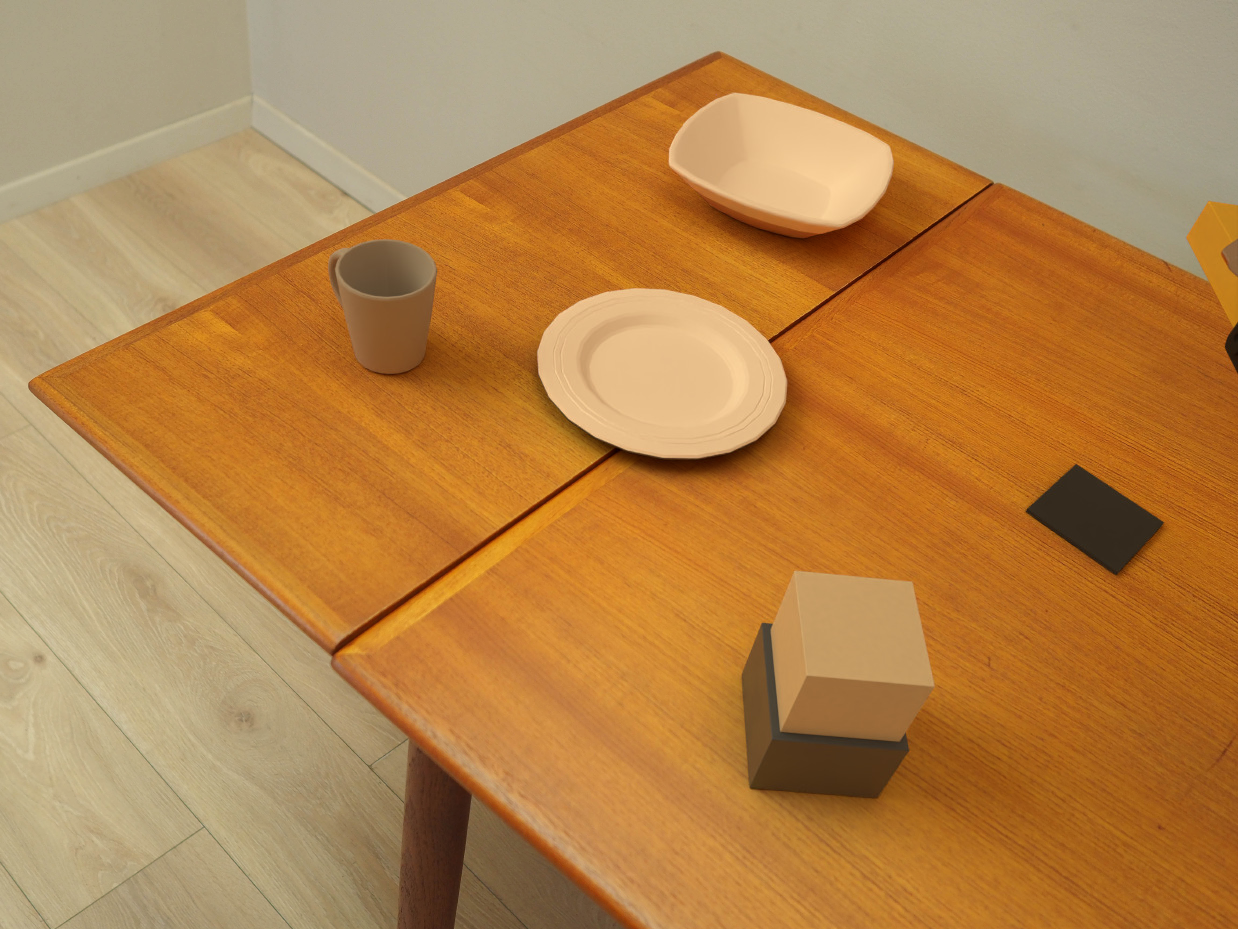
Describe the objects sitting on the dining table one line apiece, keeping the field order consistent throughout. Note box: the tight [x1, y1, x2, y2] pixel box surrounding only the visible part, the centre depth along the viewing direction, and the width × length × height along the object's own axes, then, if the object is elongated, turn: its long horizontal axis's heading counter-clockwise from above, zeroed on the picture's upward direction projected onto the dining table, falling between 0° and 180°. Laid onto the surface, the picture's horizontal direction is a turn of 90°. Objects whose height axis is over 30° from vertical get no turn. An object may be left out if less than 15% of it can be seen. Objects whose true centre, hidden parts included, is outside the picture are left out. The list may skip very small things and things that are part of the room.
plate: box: [536, 287, 788, 461], centre depth 87 cm, size 21×21×2 cm
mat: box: [1025, 463, 1165, 576], centre depth 83 cm, size 8×8×1 cm
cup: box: [327, 238, 438, 375], centre depth 83 cm, size 8×10×8 cm
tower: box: [741, 570, 936, 799], centre depth 62 cm, size 8×8×12 cm
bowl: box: [668, 92, 895, 239], centre depth 108 cm, size 22×22×5 cm
